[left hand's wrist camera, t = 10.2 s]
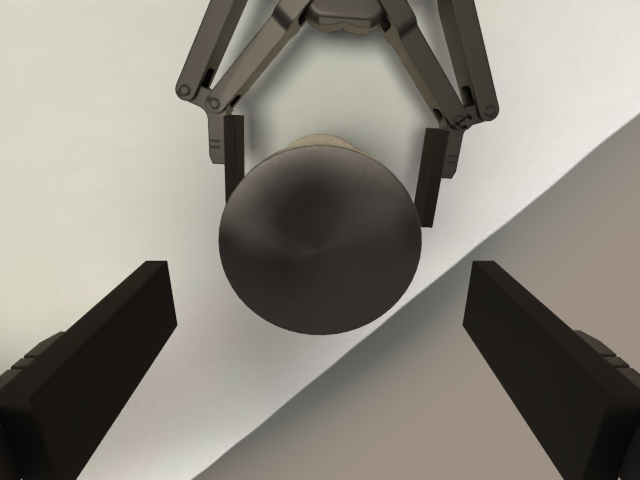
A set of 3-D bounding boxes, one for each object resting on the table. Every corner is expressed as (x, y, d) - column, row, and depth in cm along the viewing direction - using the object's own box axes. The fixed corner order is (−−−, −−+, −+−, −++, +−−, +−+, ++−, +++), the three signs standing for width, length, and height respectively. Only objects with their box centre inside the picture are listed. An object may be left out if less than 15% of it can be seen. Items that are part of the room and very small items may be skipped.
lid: (439, 166, 18) (450, 172, 16) (383, 332, 21) (389, 350, 20) (240, 120, 17) (232, 122, 16) (216, 300, 20) (207, 316, 19)
